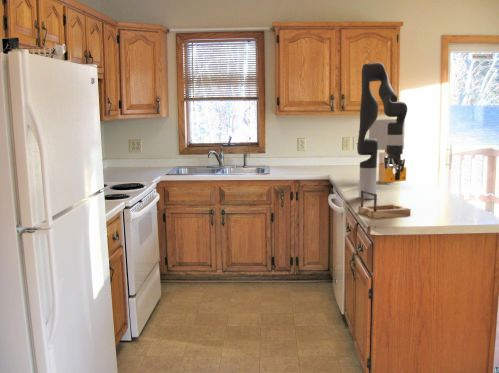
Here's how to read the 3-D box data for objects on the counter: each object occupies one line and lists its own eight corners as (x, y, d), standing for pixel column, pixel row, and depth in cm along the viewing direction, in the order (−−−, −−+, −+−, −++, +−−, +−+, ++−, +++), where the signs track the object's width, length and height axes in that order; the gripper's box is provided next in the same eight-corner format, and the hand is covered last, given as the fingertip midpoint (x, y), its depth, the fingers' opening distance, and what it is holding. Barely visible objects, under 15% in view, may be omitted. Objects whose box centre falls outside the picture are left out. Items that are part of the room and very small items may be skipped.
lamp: (376, 185, 339) (378, 120, 332) (362, 180, 361) (363, 119, 354) (409, 183, 343) (411, 119, 337) (392, 179, 365) (394, 119, 359)
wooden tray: (358, 212, 254) (358, 189, 253) (392, 209, 260) (393, 187, 258) (374, 218, 240) (375, 194, 239) (410, 215, 246) (411, 192, 244)
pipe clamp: (398, 179, 257) (399, 166, 256) (405, 180, 254) (406, 167, 253) (382, 181, 250) (382, 168, 249) (389, 182, 247) (389, 168, 246)
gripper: (379, 143, 255) (378, 178, 257) (396, 145, 241) (395, 181, 244) (392, 143, 257) (391, 177, 259) (410, 144, 244) (409, 180, 246)
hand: (393, 179), depth 251 cm, fingers closed on pipe clamp, 5 cm apart
